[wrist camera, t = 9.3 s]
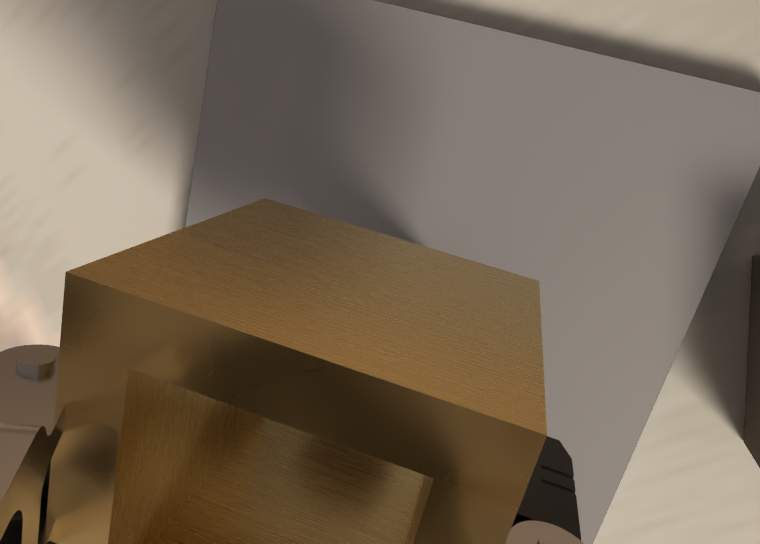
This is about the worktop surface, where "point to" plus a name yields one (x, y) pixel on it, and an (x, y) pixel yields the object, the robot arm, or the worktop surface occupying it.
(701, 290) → the post block
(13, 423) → the robot arm
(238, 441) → the brass collar
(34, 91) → the worktop surface
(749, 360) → the grey hollow square block
